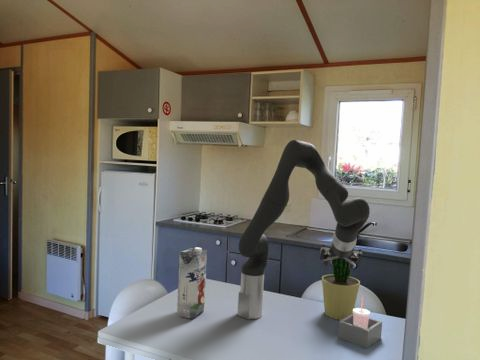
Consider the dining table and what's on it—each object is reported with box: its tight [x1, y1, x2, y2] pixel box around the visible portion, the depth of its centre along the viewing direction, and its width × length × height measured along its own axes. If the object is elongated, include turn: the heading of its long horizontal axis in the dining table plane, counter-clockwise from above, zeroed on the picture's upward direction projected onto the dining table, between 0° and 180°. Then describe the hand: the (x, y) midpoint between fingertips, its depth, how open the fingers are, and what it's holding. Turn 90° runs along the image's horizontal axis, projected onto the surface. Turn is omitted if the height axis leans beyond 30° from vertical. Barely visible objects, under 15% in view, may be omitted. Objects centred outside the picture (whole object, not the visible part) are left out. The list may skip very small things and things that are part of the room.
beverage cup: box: [353, 296, 371, 329], centre depth 143 cm, size 6×6×14 cm
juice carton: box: [176, 246, 208, 320], centre depth 156 cm, size 9×10×27 cm
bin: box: [337, 314, 383, 349], centre depth 144 cm, size 12×11×6 cm
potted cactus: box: [321, 258, 361, 321], centre depth 164 cm, size 15×15×30 cm
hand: (337, 265), depth 144 cm, fingers open, 8 cm apart
